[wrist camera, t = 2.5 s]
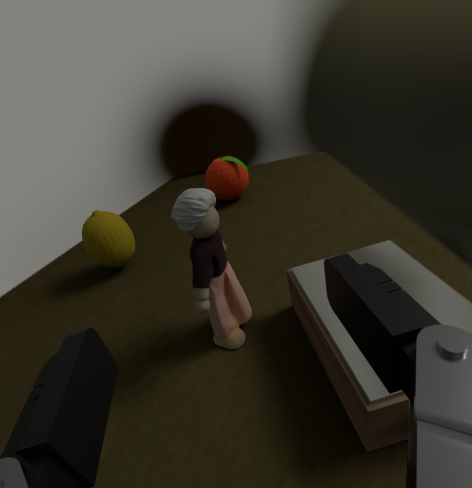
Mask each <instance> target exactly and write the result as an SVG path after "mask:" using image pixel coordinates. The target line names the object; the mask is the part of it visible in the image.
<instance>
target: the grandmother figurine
mask: <svg viewBox="0 0 472 488" xmlns="http://www.w3.org/2000/svg"><path fill="white" fill-rule="evenodd" d="M215 203H216V197H215V194H214V193H213V192H212V191H211V190H208V189H203V188H197V189H188V190H186V191H184V192H183V193H182V194H181V195H180V196H179V197H178V198H177V200H176V202H175V205H174V207H173V208H172V214H171V219H172V220H173V221H175V222H177V225H178V226H179V227H180V228H181V229H182V230H185V231H186V232H187V233H188V234H189V235H190V236H191V237H193V242H192V246H191V248H190V257H191V261H192V264H193V288H194V296H195V299H196V303H195V308H196V310H197V311H198V312H200V313H205V312H207V311H208V313H209V316H210V320H211V324H212V327H213V331H214V333H215V334H214V337H213V341H214V343H215V344H217V345H219V346H222V347H225V348H228V349H237V348H239V347H241V346H242V345H243V343H244V341H245V338H246V336H245V333H244V332H243V331H242V330H241V329H240V328H239V325H241V324H243V323H245V322H247V321H248V320H249V319H250V317H251V315H252V310H251V308H250V305H249V302H248V300H247V298H246V295H245V293H244V291H243V289H242V287H241V285H240V284H239V282H238V280H237V278H236V275H235V273H234V271H233V269H232V267H231V266H230V264H229V263H228V261H227V257H226V254H225V250H226V245H225V244H224V243H223V240H222V237H221V235H220V233H219V232H218V230H217V229H218V226H219V215H218V213H217V211H216V209H215V208H214V206H215Z"/></svg>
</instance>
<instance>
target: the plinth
mask: <svg viewBox="0 0 472 488" xmlns="http://www.w3.org/2000/svg"><path fill="white" fill-rule="evenodd" d="M347 253H348V254H349V255H350V256H351V257H352V258H353V259H354V260H355V261H356V262H357V263H358V264H359V265H360V264H364V263H369V264H371V265H373V266H375V267H377V268H380V269H382V270H383V271H384V272H385V273H386V274H387V275H388V276H389V277H391V278H392V279H393V282H394V281H395V282H396V283H397V284H398V285H399V286H400V287H401V288H402V290H405V291H406V292H407V293H408V294H409V295H410V296H411V297H412V298H413V299H414V300H416V301H417V302H418V303H419V304H420V305H421V306H422V307H423V308H424V309H425V310H426V311H427V312H429V313H430V314H431V315H432V316H433V317H434V318H435V319H436V320H437V321H438V322H439V323H441V324H442V325H450V326H455V327H458V328H461V329H464V330H466V331H468V332H470V333H472V302H470V301H469V300H468V299H466V298H465V297H464V296H463V295H461V294H460V293H459V292H457V291H456V290H455V289H453V288H452V287H451V286H449V285H448V284H447V283H446V282H444V281H443V280H442V279H440V278H439V277H438V276H436V275H435V274H434V273H433V272H431V271H430V270H429V269H427V268H426V267H425V266H423V265H422V264H421V263H420V262H418V261H417V260H416V259H414V258H413V257H412V256H410V255H409V254H408V253H406V252H405V251H404V250H403V249H401V248H400V247H399V246H397V245H396V244H395V243H393V242H392V241H391V240H388V241H385V242H381V243H378V244H374V245H371V246H368V247H364V248H361V249H357V250H354V251H350V252H347ZM343 254H344V253H343ZM340 255H341V254H340ZM336 256H337V255H336ZM333 257H334V256H333ZM329 258H331V257H329ZM326 259H327V258H326ZM324 260H325V259H322V260H319V261H315V262H312V263H308V264H305V265H301V266H298V267H294V268H291V269H288V270H287V276H288V282H289V289H290V295H291V301H292V306H293V308H294V310H295V312H296V314H297V316H298V318H299V320H300V322H301V324H302V326H303V328H304V330H305V332H306V334H307V336H308V338H309V340H310V342H311V344H312V345H313V347H314V349H315V351H316V353H317V355H318V357H319V359H320V361H321V363H322V365H323V367H324V369H325V371H326V373H327V375H328V377H329V379H330V381H331V383H332V385H333V387H334V389H335V391H336V392H337V394H338V396H339V398H340V400H341V402H342V404H343V406H344V408H345V410H346V412H347V414H348V416H349V418H350V420H351V422H352V424H353V426H354V428H355V430H356V432H357V434H358V436H359V438H360V440H361V441H362V443H363V445H364V447H365V449H366V451H367V452H369V451H372V450H376V449H379V448H382V447H385V446H388V445H391V444H394V443H397V442H401V441H404V440H407V439H408V418H409V399H408V397H407V396H406V395H405V393H404V392H403V390H401V391H398V392H394V393H391V394H389V392H388V391H387V389H386V388H385V387H384V385H383V384H382V382H381V381H380V379H379V378H378V376H377V375H376V373H375V372H374V370H373V369H372V367H371V366H370V364H369V363H368V362H367V360H366V359H365V357H364V356H363V354H362V353H361V351H360V350H359V348H358V347H357V345H356V344H355V342H354V341H353V340H352V338H351V337H350V335H349V334H348V332H347V331H346V329H345V328H344V326H343V325H342V323H341V322H340V320H339V319H338V317H337V316H336V315H335V313H334V312H333V310H332V308H331V306H330V304H329V301H328V298H327V293H326V282H325V272H324Z"/></svg>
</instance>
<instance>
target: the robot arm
mask: <svg viewBox="0 0 472 488" xmlns="http://www.w3.org/2000/svg"><path fill="white" fill-rule="evenodd" d="M324 272H325V282H326V293H327V298H328V301H329V304H330V306H331V308H332V310H333V312H334V313H335V315H336V316H337V317H338V319H339V320H340V322H341V323H342V325H343V326H344V328H345V329H346V331H347V332H348V334H349V335H350V337H351V338H352V340H353V341H354V342H355V344H356V345H357V347H358V348H359V350H360V351H361V353H362V354H363V356H364V357H365V359H366V360H367V362H368V363H369V364H370V366H371V367H372V369H373V370H374V372H375V373H376V375H377V376H378V378H379V379H380V381H381V382H382V384H383V385H384V387H385V388H386V389H387V391H388V392H389V394H391V393H394V392H398V391H401V390H403V392H404V393H405V395H406V396H407V397H408V399H409V418H408V447H407V474H406V488H472V333H470V332H468V331H466V330H464V329H461V328H458V327H455V326H450V325H442V324H441V323H439V322H438V321H437V320H436V319H435V318H434V317H433V316H432V315H431V314H430V313H429V312H427V311H426V310H425V309H424V308H423V307H422V306H421V305H420V304H419V303H418V302H417V301H416V300H414V299H413V298H412V297H411V296H410V295H409V294H408V293H407V292H406V291H405V290H402V288H401V287H400V286H399V285H398V284H397V283H396V282H395V281H394V282H393V279H392V278H391V277H389V276H388V275H387V274H386V273H385V272H384V271H383V270H382V269H380V268H377V267H375V266H373V265H371V264H369V263H364V264H360V265H359V264H358V263H357V262H356V261H355V260H354V259H353V258H352V257H351V256H350V255H349V254H348V253H344V254H341V255H337V256H334V257H331V258H327V259H325V260H324ZM116 373H117V370H116V363H115V360H114V358H113V356H112V354H111V353H110V351H109V350H108V348H107V347H106V345H105V344H104V342H103V341H102V339H101V338H100V336H99V335H98V333H97V332H96V330H95V329H93V328H88V329H85V330H81V331H78V332H75V333H71V334H68V335H66V337H65V338H64V340H63V342H62V345H61V347H60V349H59V352H58V354H56V355H53V356H52V358H51V359H50V360H49V361H48V362H47V364H46V365H45V366H44V367H43V369H42V370H41V371H40V373H39V375H38V378H37V380H36V382H35V384H34V386H33V387H34V389H33V390H32V391H31V393H30V395H29V397H28V399H27V403H26V404H25V406H24V408H23V410H22V412H21V414H20V416H19V419H18V421H17V423H16V425H15V427H14V429H13V431H12V434H11V436H10V438H9V440H8V442H7V444H6V447H5V449H4V451H3V453H2V455H1V457H0V488H91V487H94V484H95V479H96V474H97V469H98V464H99V459H100V455H101V450H102V445H103V440H104V435H105V430H106V425H107V420H108V415H109V410H110V405H111V400H112V395H113V390H114V385H115V380H116Z"/></svg>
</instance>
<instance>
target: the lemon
mask: <svg viewBox="0 0 472 488" xmlns="http://www.w3.org/2000/svg"><path fill="white" fill-rule="evenodd" d="M82 238H83V242H84V245H85V248H86V250H87V252H88V253H89V255H90V256H91V257H92V258H93V259H94V260H95V261H96V262H97V263H99V264H101V265H103V266H106V267H124V266H125V264H126V262H127V261H129V259H130V258H131V257H132V255H133V253H134V250H135V240H134V236H133V233H132V231H131V229H130V228H129V226H128V225H127V223H126V222H125V221H124V220H123V219H122V218H121V217H120V216H118V215H117V214H114V213H111V212H100V211H98V210H97V211H94V212H92V215H91V216H90V217H89V218H88V219H87V220H86V222H85V224H84V225H83V228H82Z"/></svg>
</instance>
